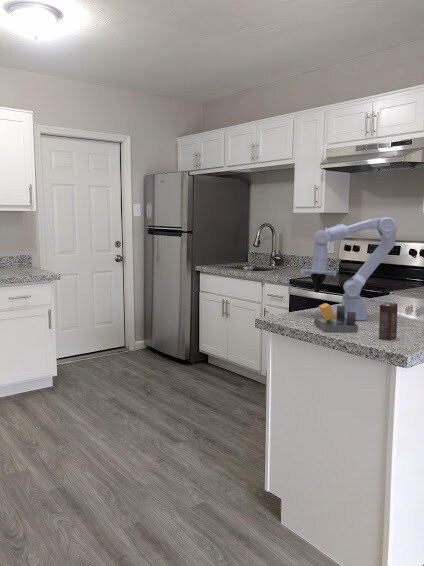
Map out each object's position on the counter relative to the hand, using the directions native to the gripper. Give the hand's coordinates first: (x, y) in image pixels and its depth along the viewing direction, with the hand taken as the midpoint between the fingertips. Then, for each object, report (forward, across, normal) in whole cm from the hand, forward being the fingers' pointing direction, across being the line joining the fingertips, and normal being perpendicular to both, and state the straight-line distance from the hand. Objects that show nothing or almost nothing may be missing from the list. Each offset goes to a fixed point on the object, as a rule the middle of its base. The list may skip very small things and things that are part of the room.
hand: (316, 292), depth 202 cm
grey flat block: (+10, -2, +20) cm, 22 cm away
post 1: (+8, -6, +14) cm, 17 cm away
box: (+10, -15, +36) cm, 40 cm away
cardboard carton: (+8, 0, +20) cm, 21 cm away
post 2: (+7, -6, +26) cm, 28 cm away
